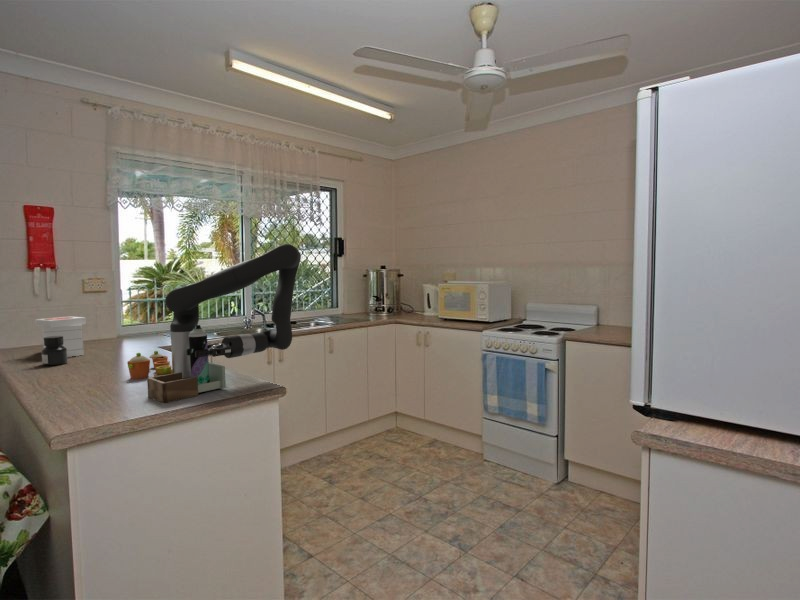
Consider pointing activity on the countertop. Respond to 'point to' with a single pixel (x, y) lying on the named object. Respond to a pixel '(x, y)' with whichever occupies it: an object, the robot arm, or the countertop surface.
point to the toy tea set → (148, 365)
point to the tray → (214, 378)
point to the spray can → (201, 363)
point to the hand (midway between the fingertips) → (191, 353)
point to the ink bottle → (54, 351)
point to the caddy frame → (172, 387)
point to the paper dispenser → (64, 332)
